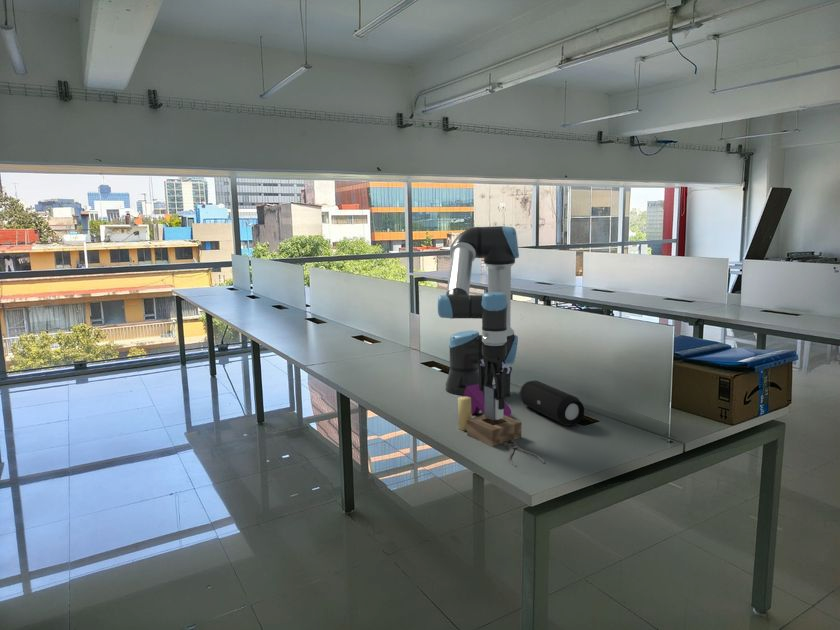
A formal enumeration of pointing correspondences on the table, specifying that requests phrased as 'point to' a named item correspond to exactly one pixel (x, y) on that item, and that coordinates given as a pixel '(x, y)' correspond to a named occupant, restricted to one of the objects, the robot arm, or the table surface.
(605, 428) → the table surface
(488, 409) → the square peg
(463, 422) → the round peg
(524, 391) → the portable speaker
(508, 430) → the socket block
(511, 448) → the pliers
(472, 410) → the mounting bracket
